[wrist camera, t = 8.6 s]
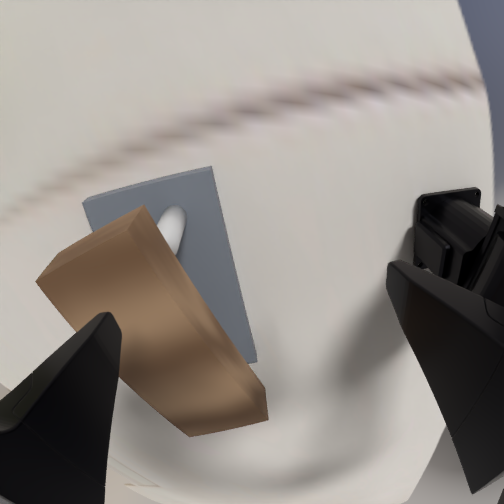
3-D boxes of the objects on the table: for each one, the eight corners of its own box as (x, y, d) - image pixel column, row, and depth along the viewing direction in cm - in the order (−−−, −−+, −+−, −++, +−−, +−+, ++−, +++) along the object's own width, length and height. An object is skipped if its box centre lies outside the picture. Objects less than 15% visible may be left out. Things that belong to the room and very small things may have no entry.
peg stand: (87, 197, 20) (54, 228, 15) (211, 166, 19) (205, 190, 15) (163, 365, 28) (155, 408, 23) (256, 353, 28) (260, 398, 23)
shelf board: (264, 387, 22) (268, 419, 20) (191, 406, 23) (189, 437, 21) (144, 204, 15) (126, 229, 12) (58, 253, 16) (35, 281, 13)
